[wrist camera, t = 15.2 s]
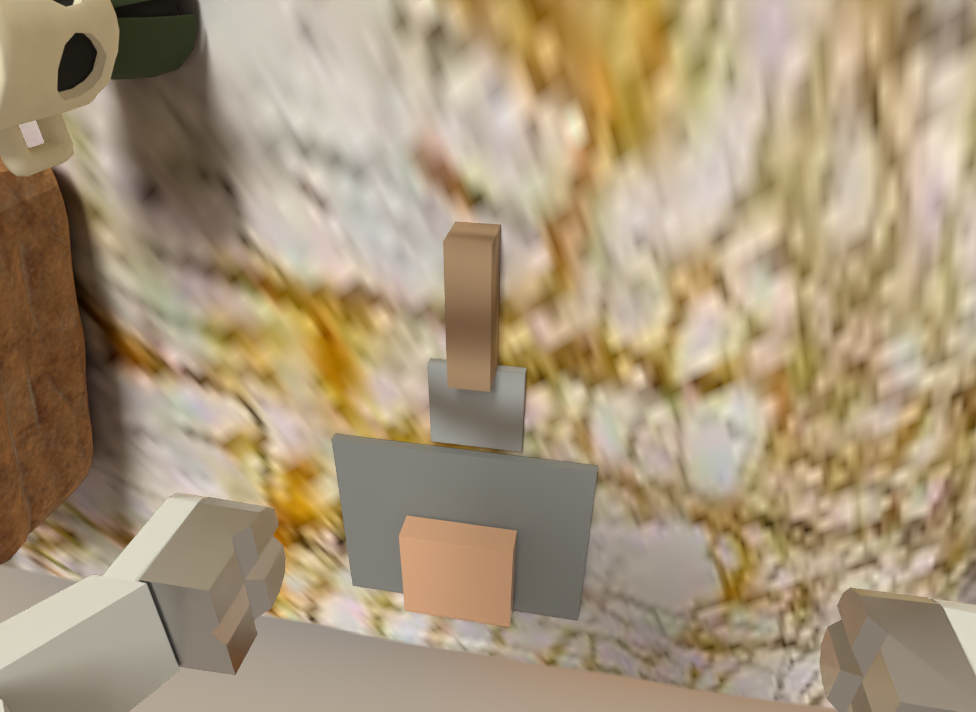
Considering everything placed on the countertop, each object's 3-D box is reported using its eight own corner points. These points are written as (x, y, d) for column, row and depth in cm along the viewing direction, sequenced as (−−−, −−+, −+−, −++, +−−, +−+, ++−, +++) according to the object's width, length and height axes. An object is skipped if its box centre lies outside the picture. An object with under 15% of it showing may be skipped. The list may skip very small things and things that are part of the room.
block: (512, 552, 45) (509, 627, 49) (517, 528, 46) (513, 603, 51) (398, 536, 46) (405, 610, 50) (407, 513, 48) (412, 587, 52)
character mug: (236, 118, 35) (62, 194, 24) (118, 120, 36) (-99, 194, 25) (175, -136, 29) (-87, -186, 19) (37, -123, 31) (-285, -162, 20)
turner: (424, 218, 36) (409, 238, 34) (533, 226, 35) (526, 247, 33) (434, 433, 44) (422, 462, 42) (522, 444, 43) (516, 474, 41)
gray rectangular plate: (597, 465, 43) (597, 471, 43) (578, 613, 51) (577, 620, 50) (335, 433, 46) (331, 439, 45) (355, 579, 53) (352, 585, 53)
